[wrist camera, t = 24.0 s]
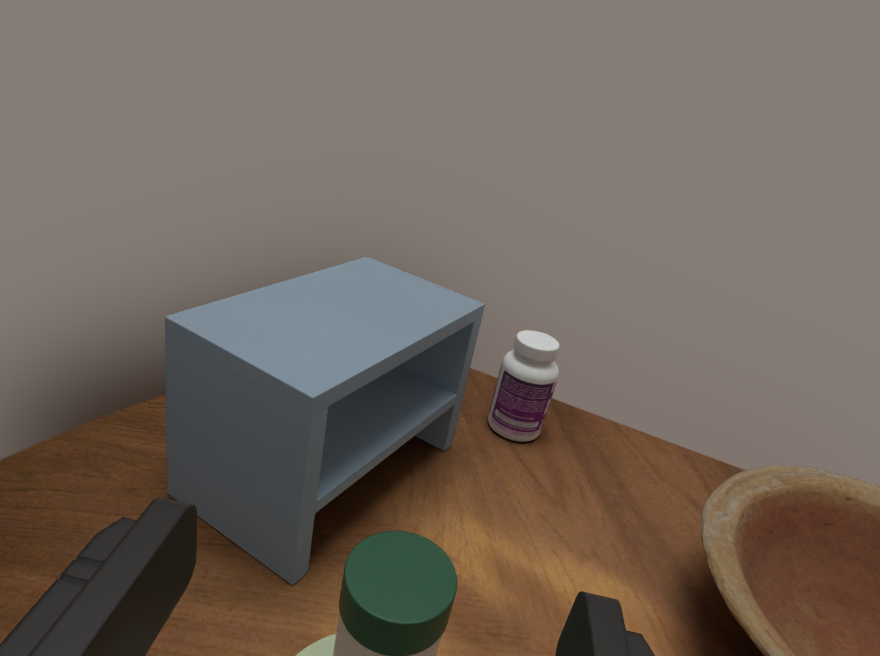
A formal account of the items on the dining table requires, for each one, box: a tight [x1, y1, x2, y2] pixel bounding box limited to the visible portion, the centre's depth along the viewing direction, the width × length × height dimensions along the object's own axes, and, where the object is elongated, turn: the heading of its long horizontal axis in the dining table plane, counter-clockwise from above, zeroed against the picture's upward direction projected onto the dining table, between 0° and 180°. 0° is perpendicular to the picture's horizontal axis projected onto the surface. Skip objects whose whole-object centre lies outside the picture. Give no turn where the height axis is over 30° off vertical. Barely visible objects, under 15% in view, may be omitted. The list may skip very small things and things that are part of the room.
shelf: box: [165, 257, 485, 585], centre depth 44 cm, size 12×20×14 cm, turn 149°
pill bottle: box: [488, 330, 559, 442], centre depth 55 cm, size 5×5×10 cm
